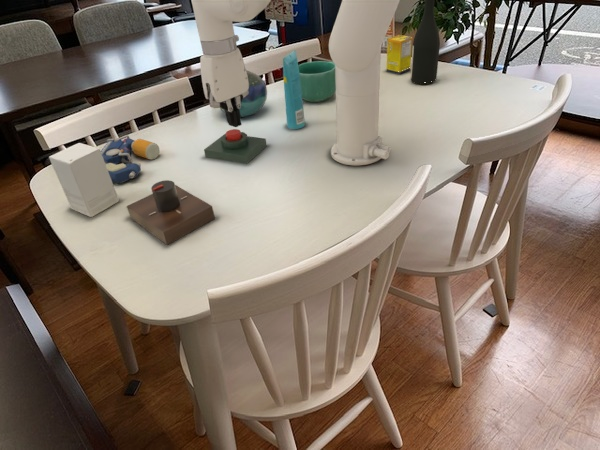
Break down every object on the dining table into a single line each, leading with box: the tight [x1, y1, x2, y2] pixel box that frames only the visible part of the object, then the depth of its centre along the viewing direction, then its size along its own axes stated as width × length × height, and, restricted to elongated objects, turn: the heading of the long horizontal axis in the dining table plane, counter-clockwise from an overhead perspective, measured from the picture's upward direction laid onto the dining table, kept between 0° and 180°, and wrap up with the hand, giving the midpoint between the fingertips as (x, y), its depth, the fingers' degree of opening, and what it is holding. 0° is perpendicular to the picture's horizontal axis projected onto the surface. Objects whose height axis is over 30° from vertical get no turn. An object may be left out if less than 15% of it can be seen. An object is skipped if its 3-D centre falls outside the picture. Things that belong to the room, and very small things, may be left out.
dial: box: [150, 179, 180, 212], centre depth 88 cm, size 4×4×5 cm
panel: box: [126, 184, 216, 246], centre depth 90 cm, size 14×11×3 cm
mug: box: [298, 60, 336, 103], centre depth 139 cm, size 17×13×10 cm
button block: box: [203, 131, 268, 165], centre depth 113 cm, size 12×10×4 cm
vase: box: [219, 69, 268, 118], centre depth 131 cm, size 15×15×13 cm
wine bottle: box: [410, 0, 441, 86], centre depth 137 cm, size 8×8×30 cm
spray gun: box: [100, 134, 160, 184], centre depth 111 cm, size 21×4×15 cm
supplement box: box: [386, 34, 413, 75], centre depth 153 cm, size 6×6×11 cm
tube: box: [282, 49, 306, 130], centre depth 119 cm, size 7×5×19 cm, turn 162°
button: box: [225, 128, 242, 141], centre depth 111 cm, size 4×4×2 cm
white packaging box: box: [48, 142, 120, 218], centre depth 94 cm, size 7×7×13 cm
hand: (235, 124), depth 109 cm, fingers closed
